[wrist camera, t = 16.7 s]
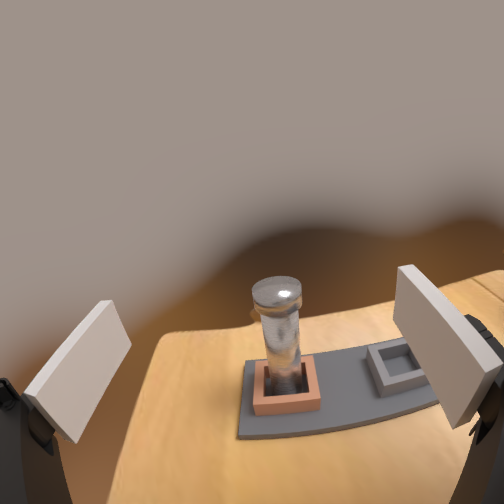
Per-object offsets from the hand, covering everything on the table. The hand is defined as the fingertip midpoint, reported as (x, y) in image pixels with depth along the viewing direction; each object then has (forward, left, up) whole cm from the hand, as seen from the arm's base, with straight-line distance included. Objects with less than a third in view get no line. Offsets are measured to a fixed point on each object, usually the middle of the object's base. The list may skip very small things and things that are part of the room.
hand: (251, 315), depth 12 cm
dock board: (-9, -15, -24) cm, 30 cm away
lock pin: (-1, -15, -23) cm, 27 cm away
